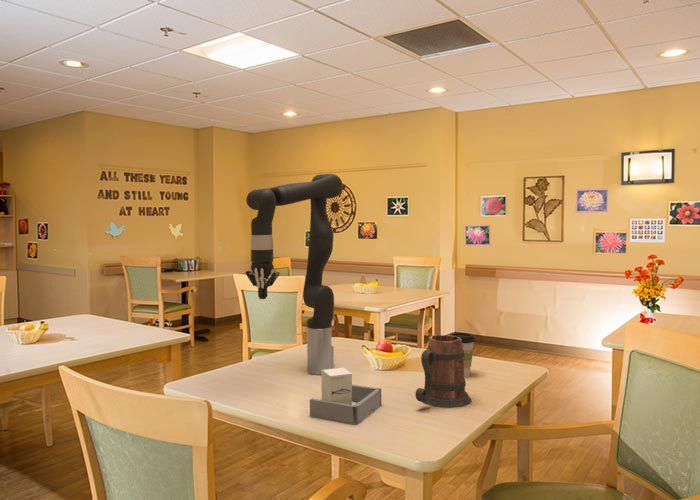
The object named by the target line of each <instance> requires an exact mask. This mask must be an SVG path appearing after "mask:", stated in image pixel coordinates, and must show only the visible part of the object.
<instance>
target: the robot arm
mask: <svg viewBox="0 0 700 500" xmlns="http://www.w3.org/2000/svg"><path fill="white" fill-rule="evenodd" d="M342 181H343V180H342V179H341V177H339V176H338V175H337V174H334V173H324V174H323V173H322V174H317V175H314V176H313V178H312V180H311V181H305V182H295V183H287V184H281V185H277V186H274V187H266V188H258V189H252V190H251V191H250V192H249V193H248V194H247V196H246V204H247V206H248V207H249V208H250V209H251V210H254V211H257V214H256V216H255V217H254V218H252V219H251V221H250V227H251V228H250V230H251V231H250V232H251V236H250V262H251V266H250V268H249V270H247V271H245V275H246V277H247V278H248V280H249V281H250V283H251V284H252V286H253V287H257V296H258V298H259V300H266V299H267V298H268V288H269V287H272V286H273V285H274V283H275V282H276V280H277V279H278V277H279V276H280V272H279V271H276V270H275V269H274V264H273V263H274V239H273V238H274V237H273V221H274V217H275V213H276V207H278V206H279V207H280V206H281V207H282V206H283V207H284V206H288V205H292V204H296V203H300V202H303V201H308V200H310V219H309V220H310V221H309V222H310V224H309V233H308V235H309V236H308V251H307V252H308V253H307V265H306V273H305V279H304V285H303V291H302V300H303V303H304V305H305V306H306V307H308V308H311V309H313V315H312V317H310V318H308V319H307V321H306V339H307V340H306V348H307V349H306V351H307V352H306V353H307V354H306V357H307V358H306V361H307V362H306V363H307V373H308V374H309V375H310V374H311V375H317V376H318V375H322V373H321V371H322V370H326V369H335V368H334V366H335V363H334V361H335V359H334V356H335V355H334V353H335V352H334V351H335V350H334V348H335V347H334V346H333V345H332V322H333V319H334V313H335V312H334V311H335V310H334V309H335V295H334V291H333V290H332V288H331V287H330V286H328V285H323V284H322V283H323V273H324V270H325V268H326V265H327V263H328V261H329V259H330V257H331V256H332V253H333V248H334V231H333V227H332V224H331V222H330V219H329V218H328V213H327V200H328V199H334V198H337V197H339V195H340V194H341V193H342V191H343V182H342Z"/></svg>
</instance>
